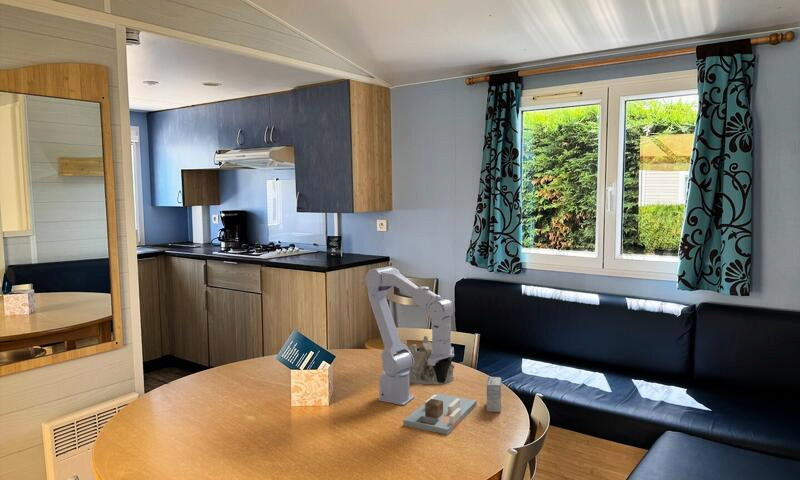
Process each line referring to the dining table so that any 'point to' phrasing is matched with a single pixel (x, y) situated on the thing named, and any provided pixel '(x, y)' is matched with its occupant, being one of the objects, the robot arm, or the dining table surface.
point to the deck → (451, 417)
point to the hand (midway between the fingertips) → (441, 381)
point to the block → (434, 408)
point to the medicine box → (494, 394)
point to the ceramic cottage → (425, 366)
